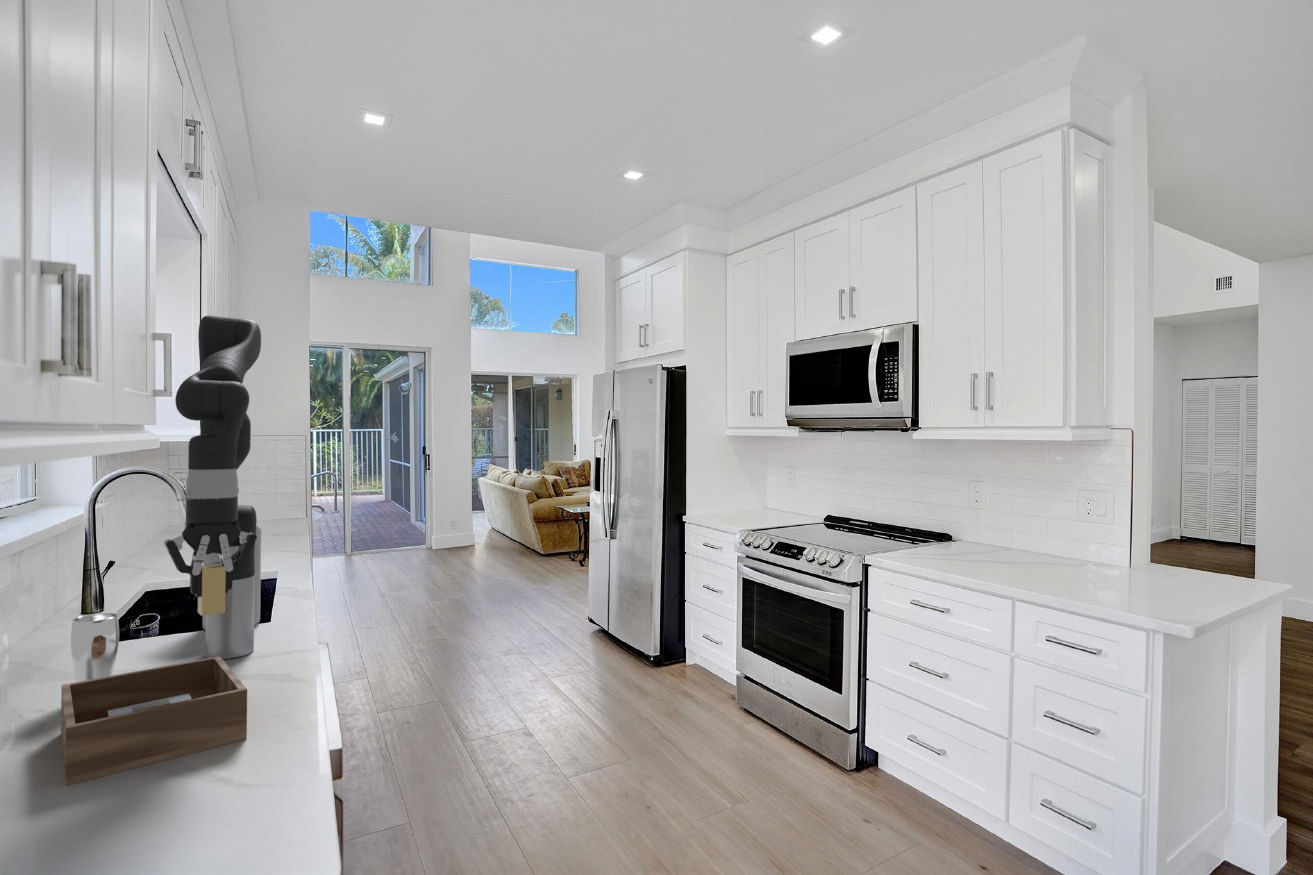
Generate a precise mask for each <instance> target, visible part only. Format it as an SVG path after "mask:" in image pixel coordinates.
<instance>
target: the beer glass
mask: <svg viewBox="0 0 1313 875" xmlns="http://www.w3.org/2000/svg"><path fill="white" fill-rule="evenodd" d="M119 625H120V624H119V614H118V613H117V612H99V613H90V614H85V615H80V616H78V617H77V616H76V617H75V618H73V619H72V621H71V630H70V631H71V632H70V644H69V645H70V656H71V660H72V661H71V662H72V664H73V666H72V667H73V670H74V674H75V682H80V681H86V680H91V679H97V678H102V677H108V676H113V675H114V670H115V663H116V659H117V655H118V651H119V644H120V626H119Z"/></svg>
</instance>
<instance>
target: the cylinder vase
mask: <svg viewBox="0 0 1313 875" xmlns="http://www.w3.org/2000/svg"><path fill="white" fill-rule="evenodd" d="M256 536H257V539H256V541H255V553H254V564H255V574H254V575H255V586H254V588H255V593H254V627H256V626H257V625H258V624H259V623H260V620H261V575H262V574H261V572H262V571H261V570H262V569H261V567H262V566H261V565H262V563H261V561H262V560H261V559H262V555H261V554H262V527H261V526H257V525H256ZM238 550H239V546H235V547H230V553H231V556H232V555H233V554H235V553H236V552H237V551H238ZM219 561H221V560H220V557H219V554H218V553H211V554H208V555H205V558H204V561H203V564H202V566H206V565H211V564H213V563H216V562H219ZM202 628H203V630H205V631H206V616H202Z"/></svg>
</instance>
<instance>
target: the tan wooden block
mask: <svg viewBox="0 0 1313 875" xmlns="http://www.w3.org/2000/svg"><path fill="white" fill-rule="evenodd" d="M200 575H202V577H201V597H197V613H198V614H199V615H200V616H201V617H203V616H206V615H213V614H220V613H225V580H226V566H224V565H222V564H216V565H206V566H203V565H202V568H201V572H200Z"/></svg>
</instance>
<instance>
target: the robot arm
mask: <svg viewBox="0 0 1313 875" xmlns="http://www.w3.org/2000/svg"><path fill="white" fill-rule="evenodd" d="M197 333H198V355H199V367H200V368H199V371H197V372H195V373H193V374H192V375H190V376H189V377H188V376H187V378H185V380H183V381H182V383H181V384H180V385H179V386H178V387H179V388H178V389H177V391H176V394H175V400H174V401H175V407H176V410H177V411H178V413H179V414H180V415H181V416H182V417H183V418H185V419H186V420H191V421H199V422H200V426H199V427H200V430H199V431H200V434H199V435H194V436H192V437H191V438H190V439H189V442H188V457H187V458H188V461H187V462H188V466H187V469H188V471H187V477H186V483H185V484H186V487H185V492H186V493H185V527H184V530H183V531H182V533H181V535H178V536H176V537H174V538H168V539H165V541H164V542H163V544H164V545H163V546H165V548H166V550H167V552H168V554H169V557H170V558H171V560H172V562H173V564H174V567H175V568H176V571H179V572H180V573H181V574H188V575H189V592H190V593H191V594H192V595H194V597H196V598H198V597H201V577H202V575H200V572H201V568H202V566H203V561H204V558H205V555H208V554H211V553H218V554H219V557H220V560H221V561H219V562H216V563H213V564H211V565H216V564H222V565H224V566H226V580H225V613H220V614H213V615H206V630H205V642H204V645H205V646H204V647H205V648H204V651H205V653H204V657H205V659H207V658H212V657H218V656H220V657H221V658H222V659H223V660H227V659H235V658H239V657H244V656H246V655H249V654H251V653H253V651H254V650H255V649H254V646H255V644H254V643H255V641H254V640H255V626H254V593H255V588H254V586H255V575H254V574H255V564H254V553H255V541H256V539H257V536H256V526H257V523H258V522H257V512H256V510H255V507H254V506H252V505H250V504H249V505H248V504H244V505H243V504H242V505H241V504H240V505H239V492H240V490H239V480H238V479H239V478H238V472H237V470H238V469H239V468H240V467H241V466H242V464H243V463H244V462H245V460H246V459H247V457H248V455H249V453H250V451H251V441H252V440H251V438H252V437H251V432H252V431H251V430H252V429H251V428H252V426H251V425H252V424H251V423H252V422H251V419H250V417H249V415H248V413H247V411H248V409H249V405H250V394H249V391H248V389H247V388H246V387H245V385H244V384H243V382H244V379H245V376H246V374H247V373H248V371H249V370H250V369H251V368H252V366H253V365H254V364H255V363H256V362H257V360H258V358H259V356H260V352H261V348H262V332H261V328H260V326H259V324H258V322H256V321H254V320H251V319H247V318H239V317H228V316H227V317H226V316H220V315H219V316H218V315H203V317H202V318H201V319H200V321H199V325H198V332H197ZM184 542H186V544H187V545H188V546H190V549H191V550H193V551H192V556H191V561H190V562H191V563H190V565H189V564H186V562H185V560H184V558H183V556H182V554H181V552H180V550H182V549H183V543H184ZM235 546H239V550H238V551H237V552H236V553H235V554H233V555H232V556H231V553H230V547H235Z"/></svg>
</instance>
